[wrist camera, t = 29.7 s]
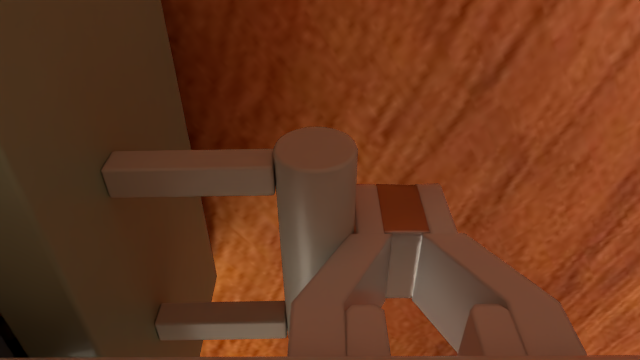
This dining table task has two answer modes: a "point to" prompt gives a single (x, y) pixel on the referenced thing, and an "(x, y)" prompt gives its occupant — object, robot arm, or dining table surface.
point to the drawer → (136, 191)
